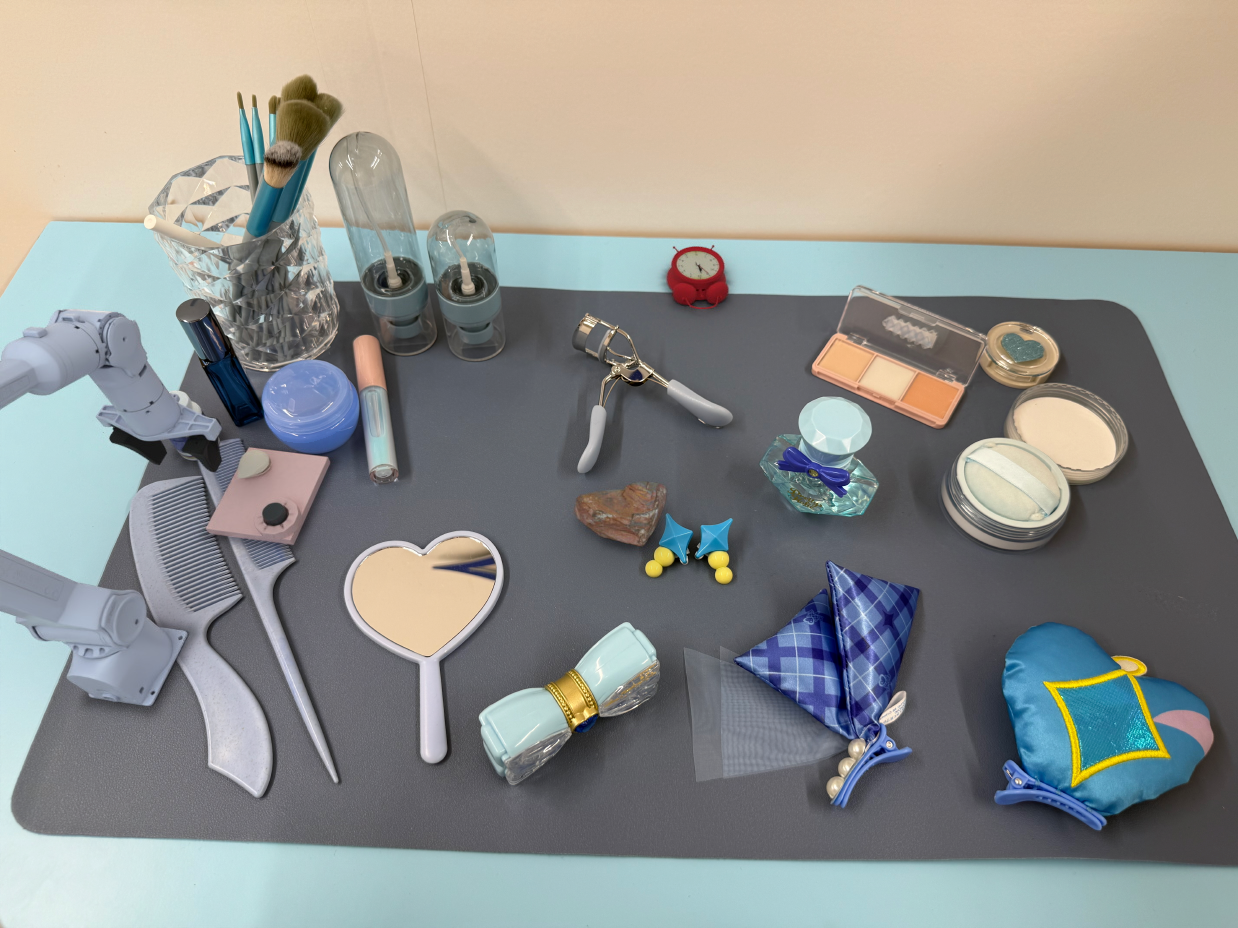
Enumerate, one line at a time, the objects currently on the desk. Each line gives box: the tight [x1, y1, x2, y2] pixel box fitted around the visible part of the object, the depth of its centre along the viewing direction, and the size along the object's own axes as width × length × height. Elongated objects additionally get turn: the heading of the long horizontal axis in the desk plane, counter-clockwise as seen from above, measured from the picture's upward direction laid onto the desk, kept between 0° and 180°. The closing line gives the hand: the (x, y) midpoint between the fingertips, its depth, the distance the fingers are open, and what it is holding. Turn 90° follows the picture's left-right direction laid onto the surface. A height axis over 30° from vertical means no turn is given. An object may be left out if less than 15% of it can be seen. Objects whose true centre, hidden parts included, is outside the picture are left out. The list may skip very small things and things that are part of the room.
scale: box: [205, 446, 331, 546], centre depth 108 cm, size 14×12×3 cm
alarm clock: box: [666, 244, 729, 310], centre depth 134 cm, size 10×6×15 cm
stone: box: [573, 480, 668, 547], centre depth 102 cm, size 13×8×10 cm
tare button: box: [262, 502, 287, 526], centre depth 103 cm, size 3×3×2 cm
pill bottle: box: [168, 390, 220, 461], centre depth 110 cm, size 6×6×10 cm
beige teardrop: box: [237, 450, 271, 479], centre depth 109 cm, size 4×5×2 cm
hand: (188, 462), depth 101 cm, fingers open, 7 cm apart
